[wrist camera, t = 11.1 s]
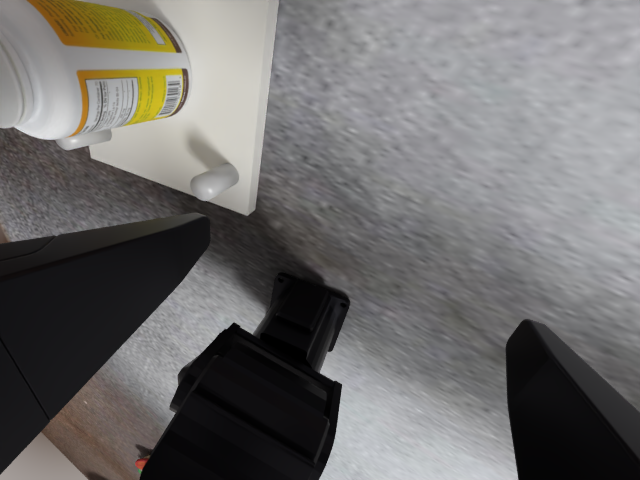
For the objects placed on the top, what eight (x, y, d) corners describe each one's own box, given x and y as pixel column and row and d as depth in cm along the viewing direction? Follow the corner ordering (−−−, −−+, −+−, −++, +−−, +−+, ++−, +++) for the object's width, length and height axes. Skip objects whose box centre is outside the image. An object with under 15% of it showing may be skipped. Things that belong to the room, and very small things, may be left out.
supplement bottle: (108, 19, 18) (-170, -24, 10) (183, 8, 17) (-71, -53, 8) (138, 117, 21) (-59, 151, 13) (206, 116, 19) (32, 155, 11)
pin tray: (255, 209, 23) (224, 234, 20) (104, 154, 25) (52, 168, 22) (288, -80, 15) (243, -127, 11) (54, -128, 17) (-46, -181, 13)
